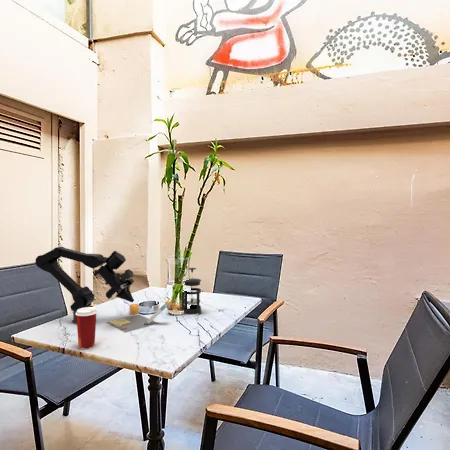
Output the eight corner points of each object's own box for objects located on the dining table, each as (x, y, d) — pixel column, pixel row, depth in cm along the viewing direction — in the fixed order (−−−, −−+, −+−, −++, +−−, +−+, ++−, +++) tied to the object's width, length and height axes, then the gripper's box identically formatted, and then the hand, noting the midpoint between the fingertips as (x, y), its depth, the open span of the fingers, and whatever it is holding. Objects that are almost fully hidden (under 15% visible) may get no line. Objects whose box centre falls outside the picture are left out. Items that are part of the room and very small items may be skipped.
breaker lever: (146, 321, 152) (163, 304, 151) (148, 319, 155) (165, 303, 154) (148, 324, 152) (165, 307, 151) (151, 321, 155) (168, 305, 154)
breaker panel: (125, 334, 142) (125, 331, 142) (105, 324, 154) (105, 321, 154) (159, 325, 154) (159, 322, 154) (138, 316, 166) (138, 313, 166)
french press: (193, 309, 179) (193, 265, 178) (206, 312, 173) (206, 267, 172) (176, 314, 170) (176, 268, 169) (189, 318, 164) (189, 270, 163)
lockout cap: (132, 316, 165) (132, 306, 165) (128, 314, 169) (128, 304, 168) (140, 315, 169) (140, 305, 168) (136, 313, 172) (135, 303, 171)
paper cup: (101, 343, 132) (101, 307, 131) (87, 351, 124) (87, 313, 124) (85, 340, 134) (85, 305, 134) (70, 348, 127) (70, 311, 126)
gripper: (112, 267, 145) (137, 294, 144) (130, 261, 163) (152, 285, 162) (95, 285, 146) (119, 312, 145) (114, 277, 165) (136, 300, 164)
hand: (133, 301), depth 154 cm, fingers closed
